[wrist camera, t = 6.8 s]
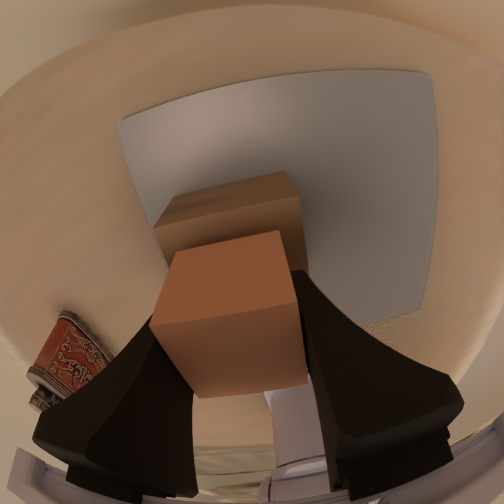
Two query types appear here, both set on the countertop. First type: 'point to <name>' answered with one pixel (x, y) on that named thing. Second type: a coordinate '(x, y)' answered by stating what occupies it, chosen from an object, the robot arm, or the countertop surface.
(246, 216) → the base brick
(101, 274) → the countertop surface
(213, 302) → the top brick
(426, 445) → the robot arm
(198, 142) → the baseplate
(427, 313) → the countertop surface
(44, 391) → the lighter
